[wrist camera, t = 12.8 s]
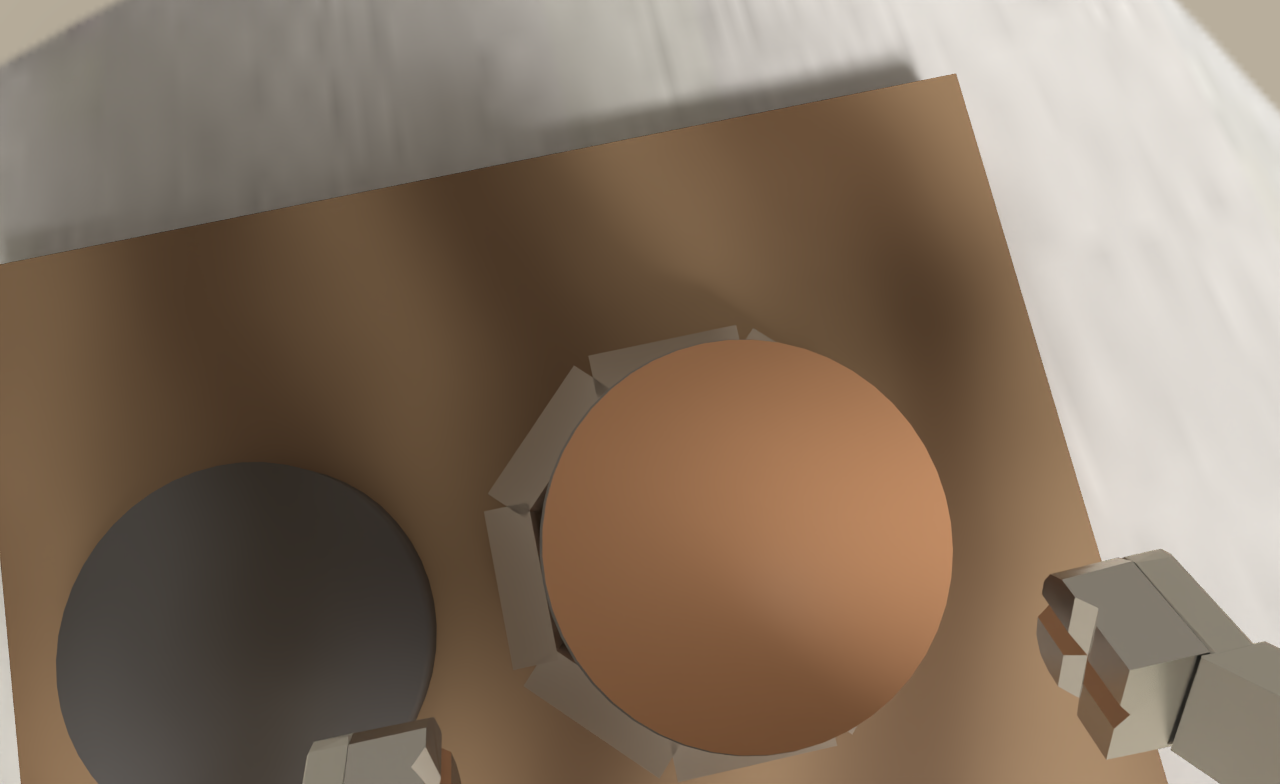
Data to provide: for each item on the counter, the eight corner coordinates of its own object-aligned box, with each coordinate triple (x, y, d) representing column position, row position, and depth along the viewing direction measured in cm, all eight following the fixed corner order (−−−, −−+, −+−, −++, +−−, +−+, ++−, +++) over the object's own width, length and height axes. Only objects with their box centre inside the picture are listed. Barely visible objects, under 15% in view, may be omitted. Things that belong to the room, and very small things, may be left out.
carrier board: (106, 1144, 18) (-42, 1311, 14) (20, 289, 21) (-122, 229, 17) (1164, 891, 19) (1303, 981, 15) (934, 106, 22) (999, 7, 18)
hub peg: (612, 679, 18) (583, 803, 9) (567, 459, 19) (501, 381, 10) (830, 630, 18) (1007, 707, 9) (777, 414, 19) (896, 298, 10)
